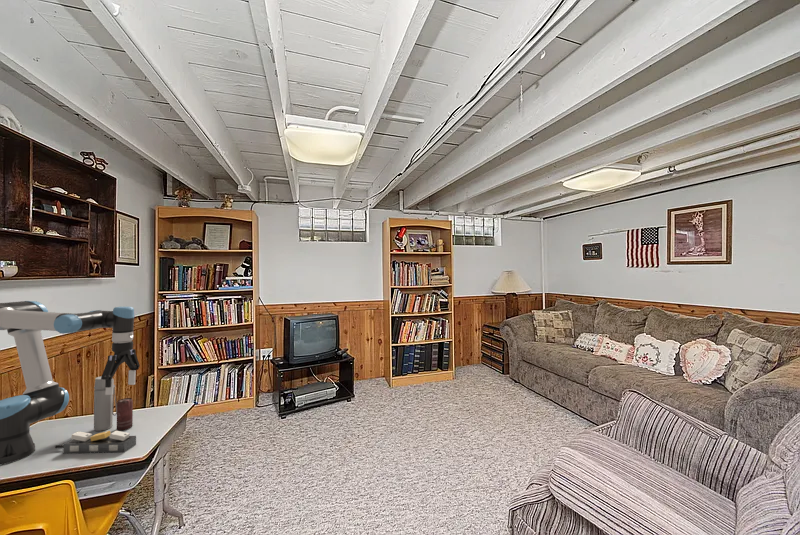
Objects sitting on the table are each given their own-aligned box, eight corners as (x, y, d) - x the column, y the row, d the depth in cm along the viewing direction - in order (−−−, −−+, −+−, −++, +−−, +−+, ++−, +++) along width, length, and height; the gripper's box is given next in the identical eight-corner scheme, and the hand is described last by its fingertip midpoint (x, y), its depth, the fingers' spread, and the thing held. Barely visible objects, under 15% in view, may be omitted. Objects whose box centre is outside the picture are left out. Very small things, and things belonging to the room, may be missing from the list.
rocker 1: (70, 438, 151) (71, 434, 151) (77, 435, 155) (78, 431, 155) (85, 441, 151) (86, 437, 152) (91, 438, 155) (92, 433, 155)
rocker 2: (109, 438, 152) (110, 433, 152) (115, 434, 155) (116, 430, 155) (123, 440, 152) (124, 436, 152) (128, 437, 155) (129, 433, 155)
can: (124, 431, 170) (124, 402, 171) (113, 430, 172) (113, 401, 172) (136, 426, 176) (136, 397, 177) (125, 425, 178) (125, 397, 178)
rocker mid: (91, 441, 152) (90, 437, 152) (97, 437, 155) (96, 433, 155) (105, 438, 152) (104, 433, 152) (111, 434, 155) (110, 430, 155)
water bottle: (97, 433, 169) (97, 380, 169) (90, 429, 173) (91, 377, 173) (120, 426, 177) (120, 375, 177) (113, 422, 181) (114, 373, 181)
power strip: (48, 454, 149) (48, 444, 149) (63, 446, 156) (63, 436, 156) (124, 452, 150) (124, 443, 150) (136, 444, 157) (136, 435, 157)
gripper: (110, 347, 147) (108, 399, 146) (149, 336, 172) (148, 380, 171) (91, 347, 146) (89, 399, 146) (133, 336, 171) (131, 380, 171)
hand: (121, 389), depth 159 cm, fingers open, 13 cm apart
